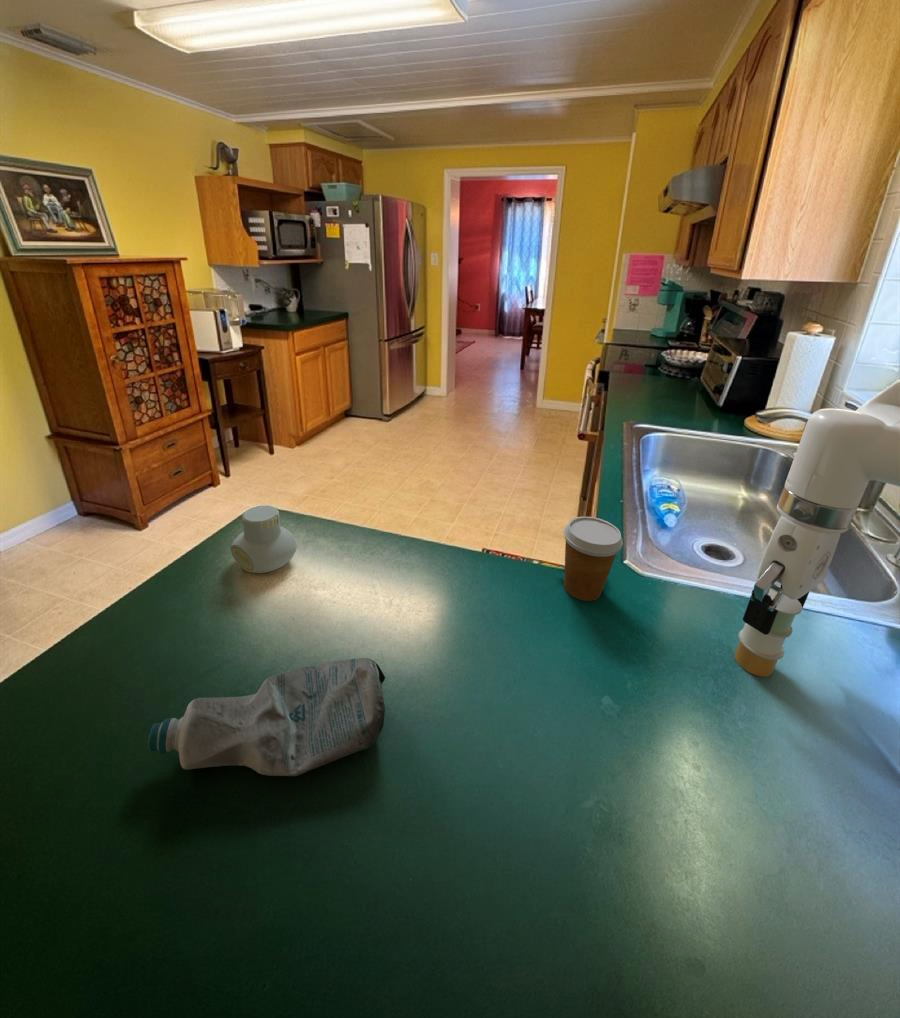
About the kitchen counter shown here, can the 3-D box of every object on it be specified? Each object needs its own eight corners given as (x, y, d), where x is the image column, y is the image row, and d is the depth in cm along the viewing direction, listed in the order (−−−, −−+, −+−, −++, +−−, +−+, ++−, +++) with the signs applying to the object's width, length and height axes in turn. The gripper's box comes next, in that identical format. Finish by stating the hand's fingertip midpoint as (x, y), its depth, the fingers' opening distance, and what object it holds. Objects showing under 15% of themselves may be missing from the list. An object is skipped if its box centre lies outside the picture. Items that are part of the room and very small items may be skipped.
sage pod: (779, 610, 68) (788, 588, 67) (801, 639, 63) (811, 616, 62) (739, 604, 69) (746, 583, 67) (757, 633, 64) (766, 610, 62)
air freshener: (227, 560, 84) (220, 511, 80) (268, 540, 90) (263, 494, 86) (262, 586, 78) (256, 535, 74) (304, 563, 84) (301, 515, 80)
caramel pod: (763, 651, 71) (772, 631, 70) (783, 682, 66) (792, 661, 64) (725, 645, 72) (732, 625, 70) (741, 676, 66) (749, 655, 65)
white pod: (771, 630, 70) (779, 610, 68) (791, 660, 64) (801, 639, 63) (731, 625, 70) (739, 604, 69) (748, 654, 65) (757, 633, 64)
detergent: (381, 671, 63) (175, 698, 57) (383, 633, 60) (165, 657, 54) (392, 775, 52) (136, 822, 46) (395, 735, 49) (121, 780, 43)
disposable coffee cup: (553, 600, 79) (564, 540, 74) (555, 567, 87) (565, 511, 83) (612, 613, 77) (627, 551, 72) (608, 577, 85) (621, 520, 81)
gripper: (819, 540, 52) (771, 658, 58) (877, 504, 61) (830, 610, 67) (749, 509, 58) (712, 619, 64) (811, 481, 67) (773, 580, 73)
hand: (772, 614), depth 65 cm, fingers open, 9 cm apart
